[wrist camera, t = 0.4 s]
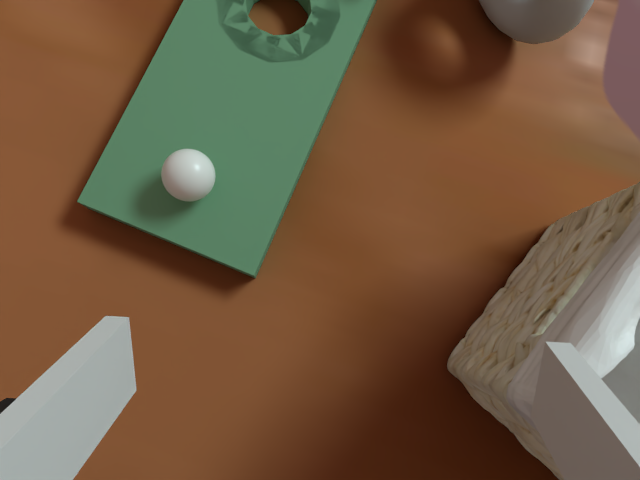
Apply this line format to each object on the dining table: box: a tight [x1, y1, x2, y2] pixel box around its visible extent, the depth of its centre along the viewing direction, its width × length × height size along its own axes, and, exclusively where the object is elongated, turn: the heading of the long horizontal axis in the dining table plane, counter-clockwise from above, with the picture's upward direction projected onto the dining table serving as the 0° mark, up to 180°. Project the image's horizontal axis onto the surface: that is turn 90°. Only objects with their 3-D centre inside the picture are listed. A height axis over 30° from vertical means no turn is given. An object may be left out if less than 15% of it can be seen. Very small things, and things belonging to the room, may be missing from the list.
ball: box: [161, 149, 216, 202], centre depth 29 cm, size 3×3×3 cm
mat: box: [77, 0, 377, 278], centre depth 33 cm, size 24×12×2 cm, turn 158°
